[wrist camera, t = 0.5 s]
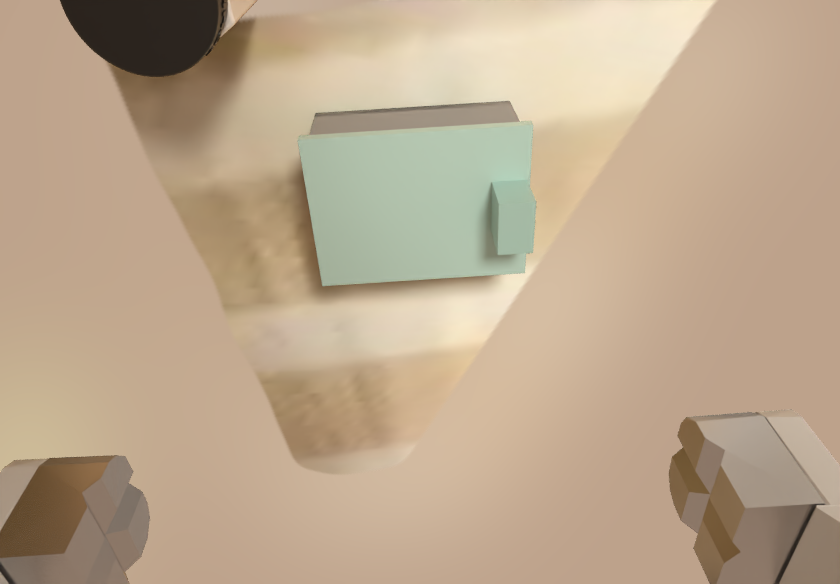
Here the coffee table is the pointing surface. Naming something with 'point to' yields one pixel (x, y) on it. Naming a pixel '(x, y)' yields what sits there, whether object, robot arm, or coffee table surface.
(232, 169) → the coffee table surface
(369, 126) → the tub
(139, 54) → the jar
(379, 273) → the lid
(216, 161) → the coffee table surface
